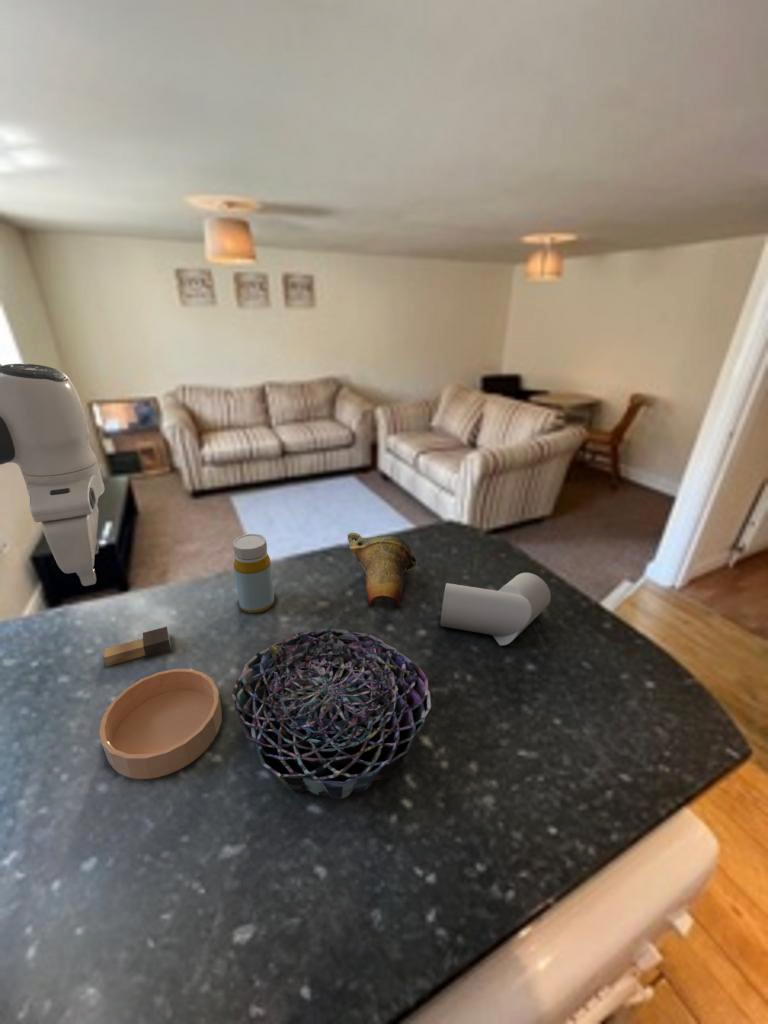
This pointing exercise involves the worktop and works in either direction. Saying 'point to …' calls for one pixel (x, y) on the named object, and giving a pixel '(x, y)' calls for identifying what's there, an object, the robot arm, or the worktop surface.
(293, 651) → the decorative bowl
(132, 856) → the worktop surface
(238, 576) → the bottle
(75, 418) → the robot arm
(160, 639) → the brush
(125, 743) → the wash bowl
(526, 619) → the bent grey cylinder
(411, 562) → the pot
